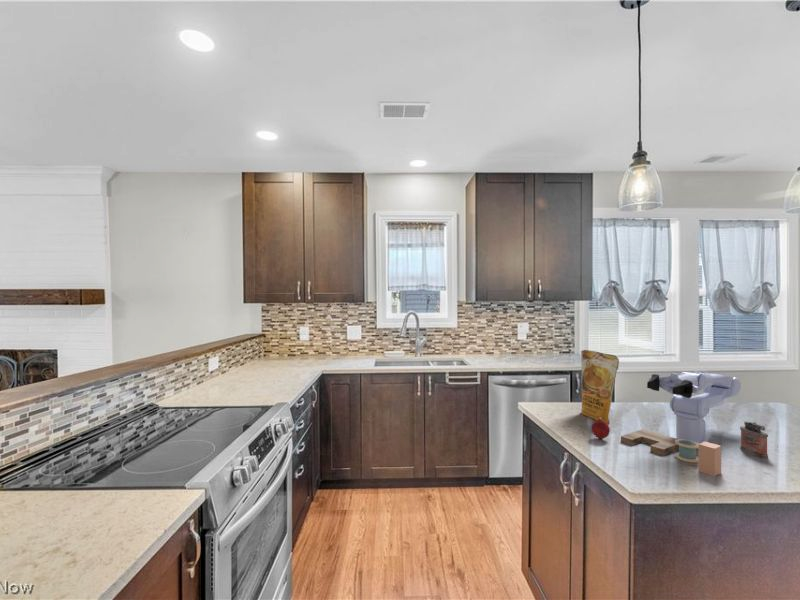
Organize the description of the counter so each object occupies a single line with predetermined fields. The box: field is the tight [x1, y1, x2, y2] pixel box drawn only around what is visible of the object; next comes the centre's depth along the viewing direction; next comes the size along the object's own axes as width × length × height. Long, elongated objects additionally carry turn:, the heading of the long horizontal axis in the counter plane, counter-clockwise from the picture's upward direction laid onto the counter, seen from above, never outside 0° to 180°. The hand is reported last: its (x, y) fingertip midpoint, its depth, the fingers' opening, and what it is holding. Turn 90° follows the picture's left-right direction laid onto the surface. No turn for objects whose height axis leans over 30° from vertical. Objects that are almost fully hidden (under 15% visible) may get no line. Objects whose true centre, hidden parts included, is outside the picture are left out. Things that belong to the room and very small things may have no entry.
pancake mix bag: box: [580, 349, 620, 424], centre depth 164 cm, size 7×19×28 cm, turn 13°
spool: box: [674, 439, 699, 464], centre depth 123 cm, size 6×6×5 cm
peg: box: [698, 441, 722, 477], centre depth 113 cm, size 4×4×8 cm
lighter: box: [739, 420, 769, 459], centre depth 126 cm, size 8×3×10 cm, turn 5°
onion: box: [591, 417, 611, 440], centre depth 140 cm, size 6×6×8 cm
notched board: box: [620, 428, 679, 456], centre depth 135 cm, size 14×14×2 cm
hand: (660, 387), depth 127 cm, fingers open, 7 cm apart
